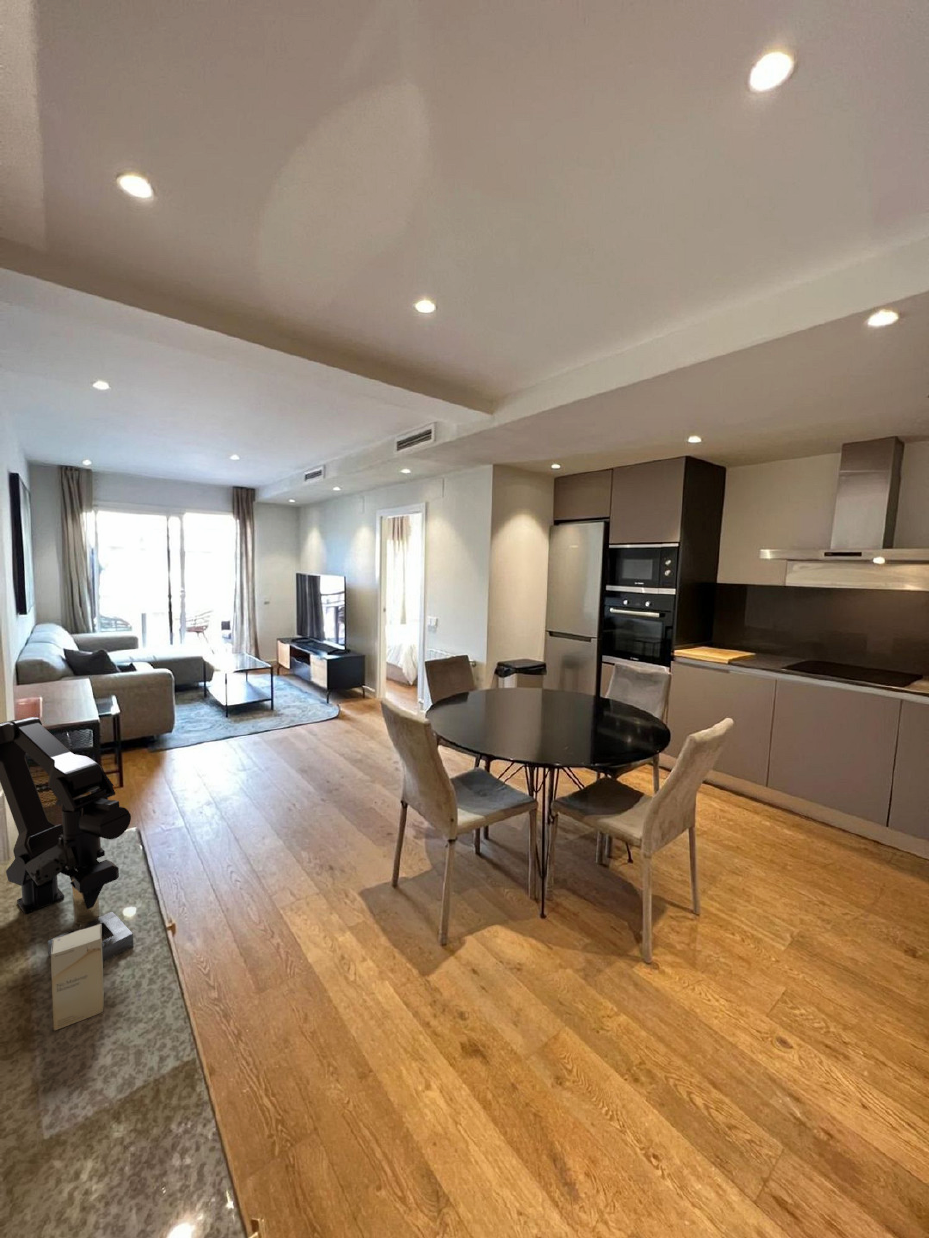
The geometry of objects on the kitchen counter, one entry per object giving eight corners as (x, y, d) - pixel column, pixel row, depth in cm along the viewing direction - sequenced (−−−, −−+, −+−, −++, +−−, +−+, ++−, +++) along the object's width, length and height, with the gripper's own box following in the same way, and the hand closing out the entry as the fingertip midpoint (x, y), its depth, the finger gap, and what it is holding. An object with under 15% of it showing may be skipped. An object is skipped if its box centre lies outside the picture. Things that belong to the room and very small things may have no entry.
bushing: (71, 919, 99) (68, 875, 98) (95, 908, 102) (93, 866, 101) (78, 927, 96) (75, 883, 96) (102, 916, 100) (100, 873, 99)
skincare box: (53, 1032, 74) (48, 956, 73) (56, 1011, 78) (51, 938, 77) (105, 1011, 78) (100, 938, 77) (105, 992, 81) (101, 922, 80)
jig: (48, 953, 90) (47, 940, 89) (112, 923, 98) (112, 911, 97) (66, 981, 84) (65, 967, 83) (133, 946, 92) (132, 933, 91)
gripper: (15, 830, 97) (20, 906, 98) (43, 863, 86) (49, 948, 87) (84, 808, 106) (88, 878, 107) (117, 836, 94) (122, 914, 96)
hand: (86, 903), depth 99 cm, fingers closed on bushing, 4 cm apart
